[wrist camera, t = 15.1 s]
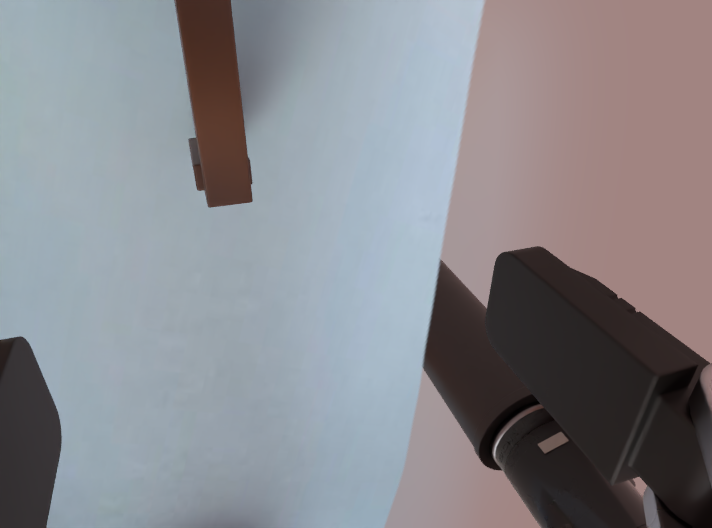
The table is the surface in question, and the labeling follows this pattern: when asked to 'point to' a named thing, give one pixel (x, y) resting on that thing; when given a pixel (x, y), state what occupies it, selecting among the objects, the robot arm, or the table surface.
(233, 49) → the door handle
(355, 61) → the table surface
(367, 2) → the table surface
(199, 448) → the table surface
